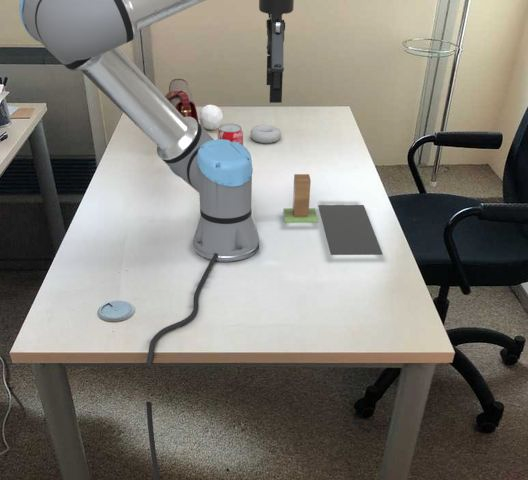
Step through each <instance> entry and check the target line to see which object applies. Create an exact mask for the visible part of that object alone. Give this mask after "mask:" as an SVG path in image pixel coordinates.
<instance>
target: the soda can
mask: <svg viewBox="0 0 528 480" xmlns="http://www.w3.org/2000/svg"><path fill="white" fill-rule="evenodd" d="M217 139H224V140H230V142H237V143H239V144H241V145H243V146H244V132H243V130H242V126H241V125H240V124H238V123H224V124H221V125H220V126H219V127H218V131H217Z"/></svg>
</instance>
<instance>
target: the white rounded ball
mask: <svg viewBox="0 0 528 480" xmlns="http://www.w3.org/2000/svg"><path fill="white" fill-rule="evenodd" d="M223 118H224V115H223V112H222V109H221V108H220V107H218V106H217V105H214V104H207V105H205V106H203V107H202V108H201V110H200V111H199V117H198V120H199V123H200V125H201V126H202V127H203V128H204V129H205V130H209V131H210V130H211V131H214V130H216V129H219V127H220V126H221V125H223V124H222V123H223Z"/></svg>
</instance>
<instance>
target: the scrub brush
mask: <svg viewBox="0 0 528 480" xmlns="http://www.w3.org/2000/svg"><path fill="white" fill-rule="evenodd" d="M311 183H312V181H311V176H310V173H296V174H294V175H293V192H292V193H293V194H292V207H291V208H290V207H289V208H288V207H287V208H286V207H285V208H283V211H282V213H283V217H284V218H283V219H284V223H285V224H317V223H318V220H319V218H318V215H317V211H316V208H315V207H310V199H311V196H310V195H311Z"/></svg>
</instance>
